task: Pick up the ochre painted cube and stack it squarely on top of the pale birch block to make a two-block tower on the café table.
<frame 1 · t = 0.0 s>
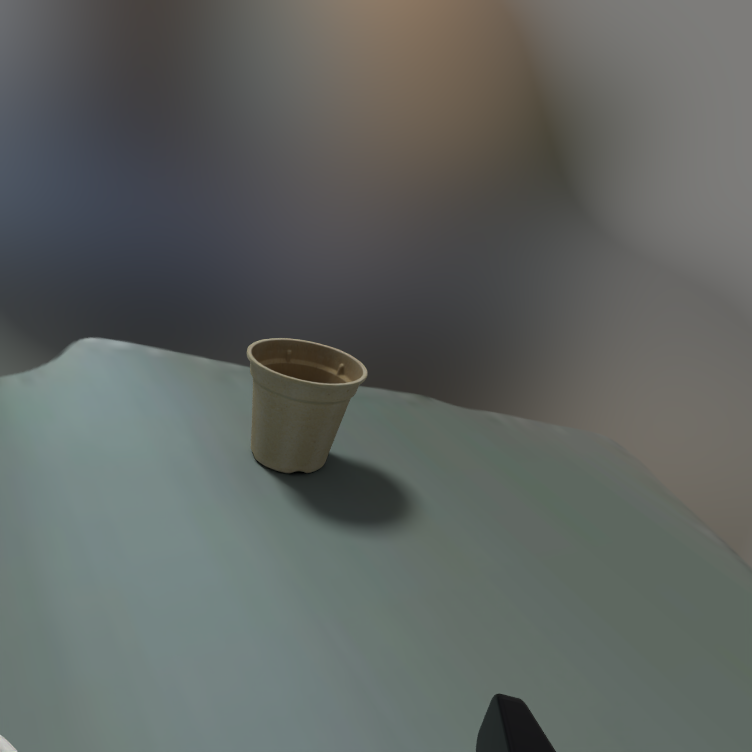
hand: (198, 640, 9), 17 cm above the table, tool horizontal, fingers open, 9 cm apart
flower pot: (289, 457, 48), on the table
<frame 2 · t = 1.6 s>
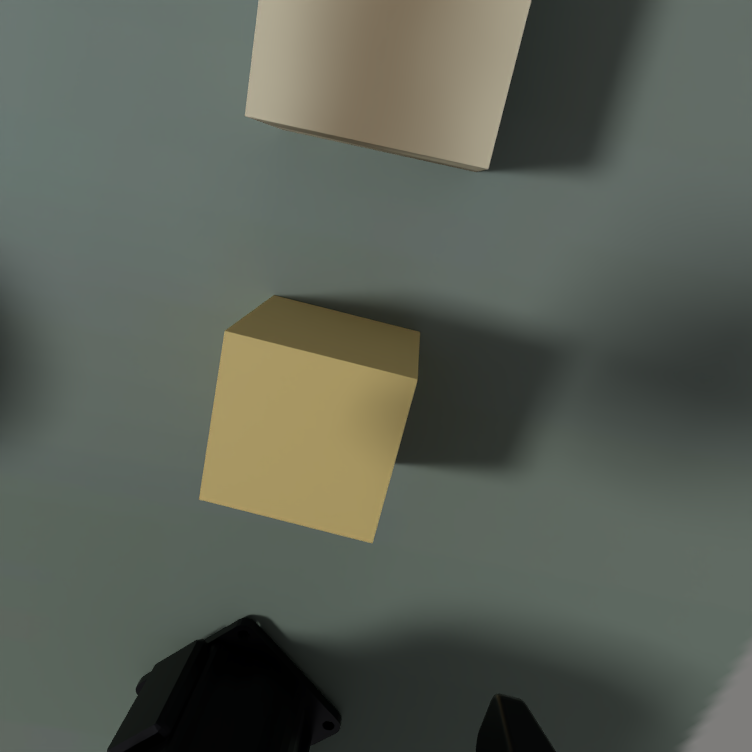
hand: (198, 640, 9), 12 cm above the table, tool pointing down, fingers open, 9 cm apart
ochre block: (331, 381, 20), on the table
birch base block: (400, 41, 17), on the table
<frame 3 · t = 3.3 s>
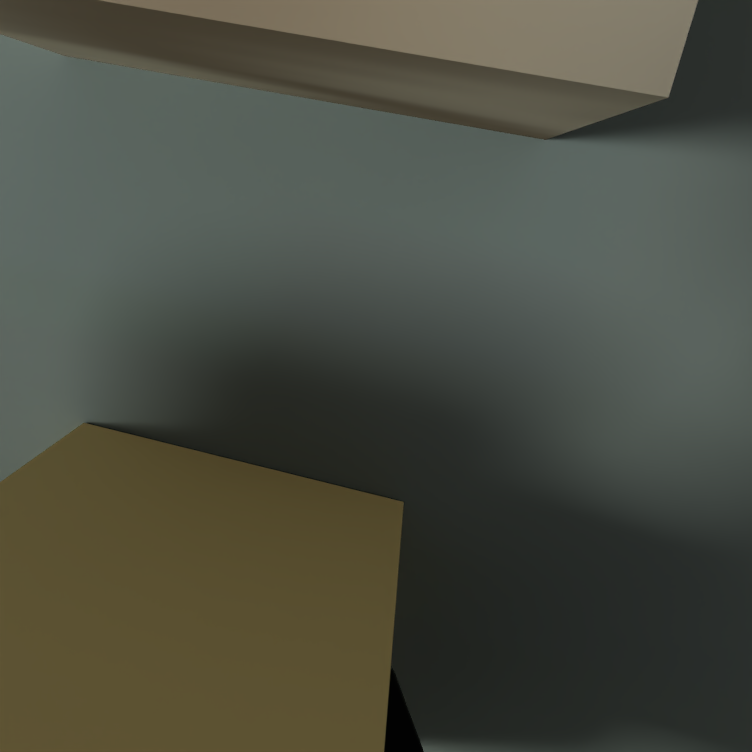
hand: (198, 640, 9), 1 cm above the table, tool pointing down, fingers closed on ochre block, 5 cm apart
ochre block: (221, 592, 10), on the table, touching gripper
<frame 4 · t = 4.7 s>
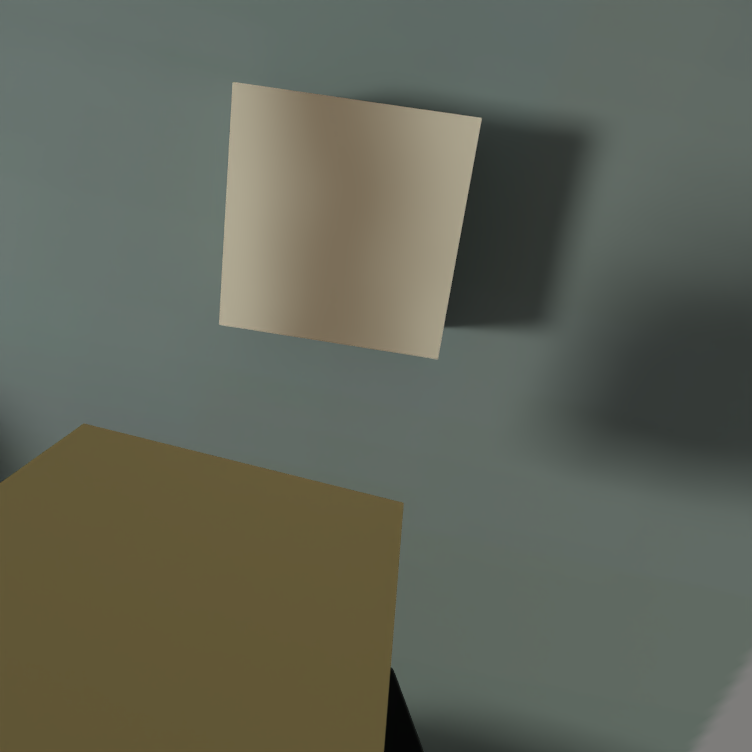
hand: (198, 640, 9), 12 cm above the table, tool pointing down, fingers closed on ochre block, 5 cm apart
ochre block: (221, 593, 10), point 11 cm above the table, touching gripper
birch base block: (358, 220, 18), on the table
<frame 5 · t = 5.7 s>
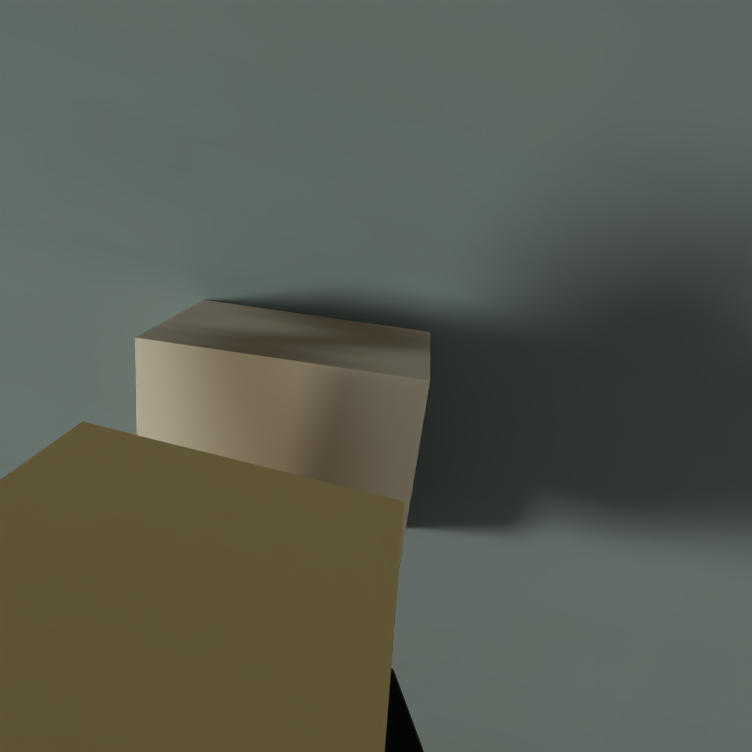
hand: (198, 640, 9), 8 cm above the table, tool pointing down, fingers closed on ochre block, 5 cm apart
ochre block: (220, 592, 10), point 7 cm above the table, touching gripper
birch base block: (308, 417, 16), on the table
when the fingers open (6 cm above the table, at t = 6.3 s): ochre block drops 2 cm, resting on birch base block.
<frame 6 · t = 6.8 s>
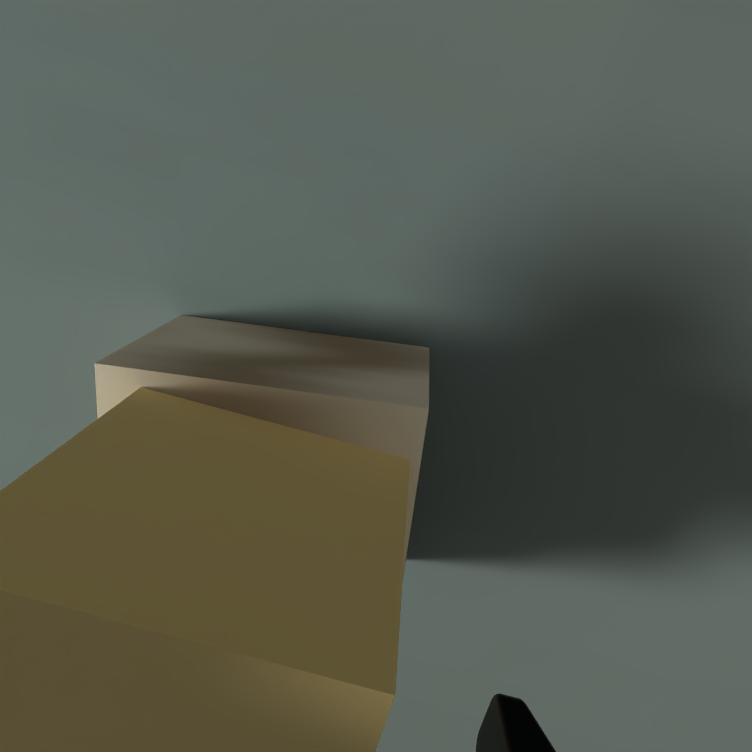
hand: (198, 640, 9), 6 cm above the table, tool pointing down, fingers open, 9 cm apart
ochre block: (251, 536, 11), point 4 cm above the table, touching birch base block
birch base block: (297, 440, 15), on the table, touching ochre block
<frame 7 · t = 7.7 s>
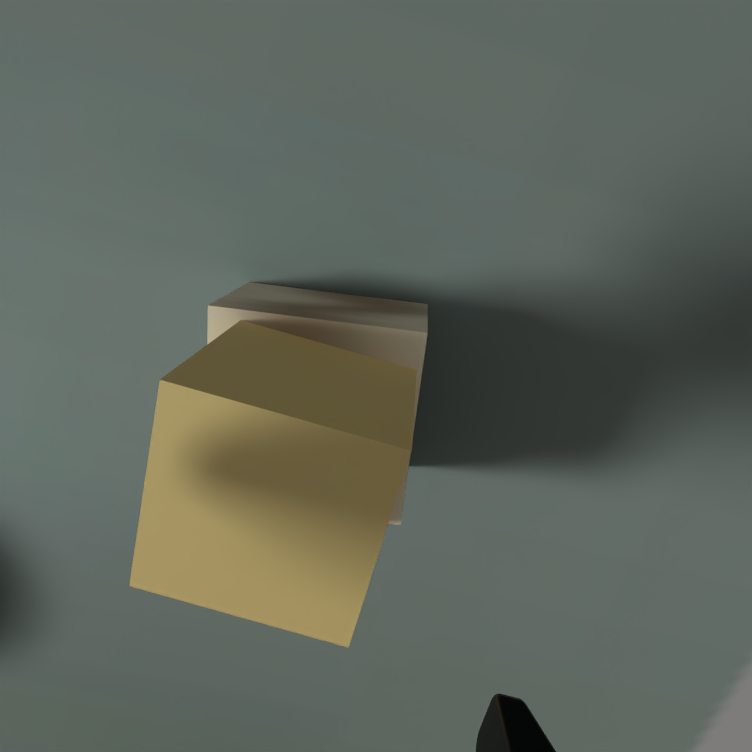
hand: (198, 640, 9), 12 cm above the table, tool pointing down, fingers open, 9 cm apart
ochre block: (308, 425, 17), point 4 cm above the table, touching birch base block
birch base block: (331, 376, 20), on the table, touching ochre block
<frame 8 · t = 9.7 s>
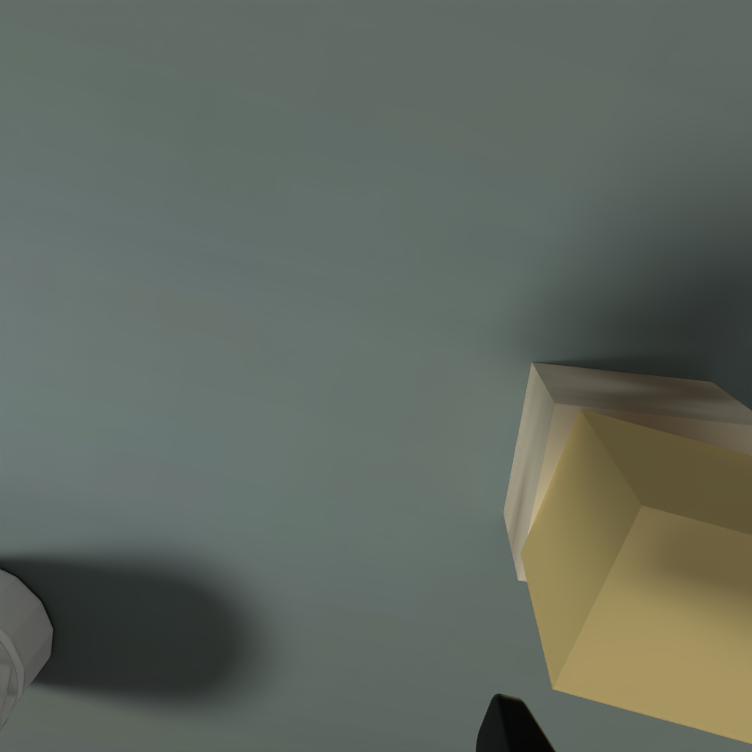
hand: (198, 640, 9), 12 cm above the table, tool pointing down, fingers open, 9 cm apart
ochre block: (631, 507, 17), point 4 cm above the table, touching birch base block
birch base block: (600, 449, 21), on the table, touching ochre block
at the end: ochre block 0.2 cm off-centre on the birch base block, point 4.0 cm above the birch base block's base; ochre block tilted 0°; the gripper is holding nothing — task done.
